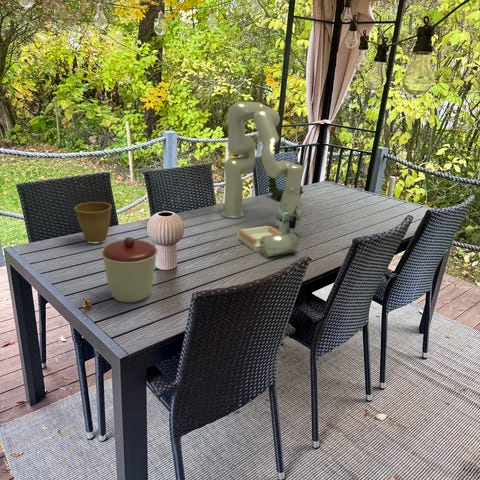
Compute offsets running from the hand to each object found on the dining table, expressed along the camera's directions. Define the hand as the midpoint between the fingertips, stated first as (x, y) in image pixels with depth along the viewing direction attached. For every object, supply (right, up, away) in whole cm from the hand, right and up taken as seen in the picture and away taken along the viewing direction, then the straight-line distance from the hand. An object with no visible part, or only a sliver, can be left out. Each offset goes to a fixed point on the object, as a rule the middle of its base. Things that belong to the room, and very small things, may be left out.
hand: (287, 225), depth 207 cm
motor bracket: (-11, -10, -14) cm, 21 cm away
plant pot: (-87, -8, -21) cm, 90 cm away
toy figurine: (+4, +17, +56) cm, 59 cm away
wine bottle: (+6, +7, +31) cm, 32 cm away
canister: (-61, -26, -63) cm, 91 cm away
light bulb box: (0, -3, +1) cm, 3 cm away
